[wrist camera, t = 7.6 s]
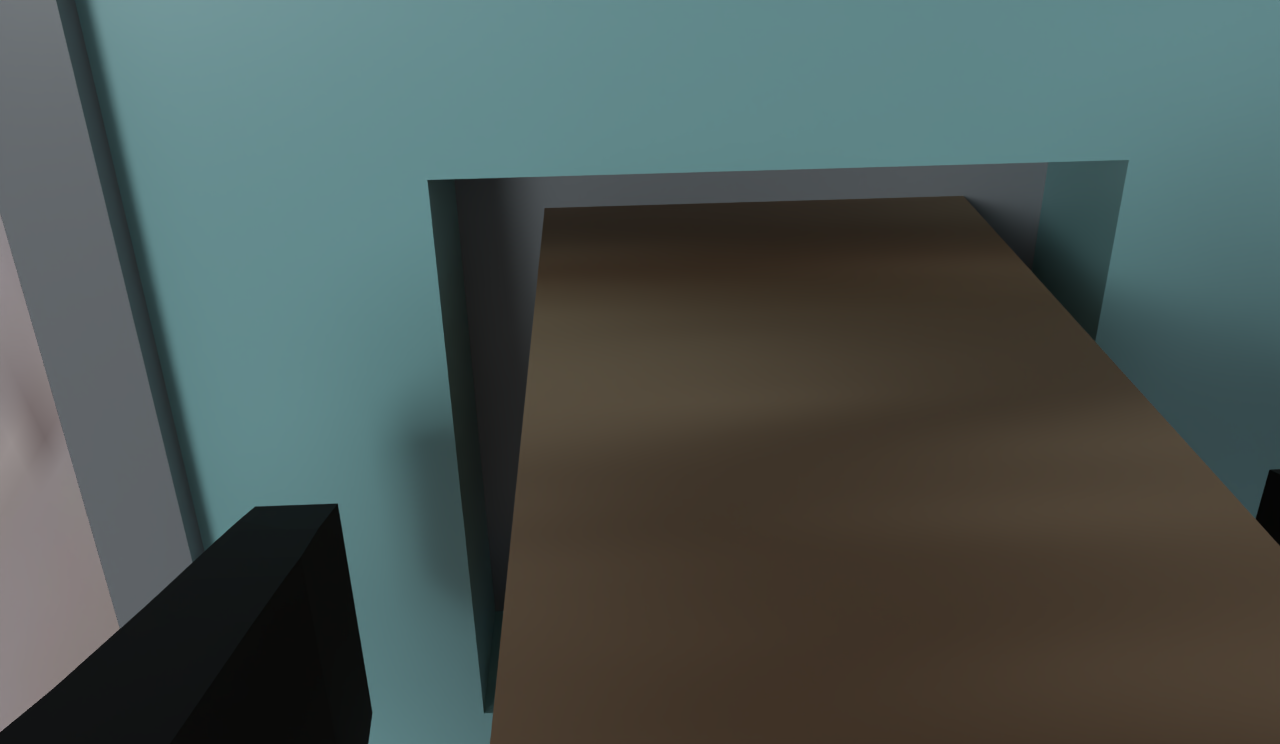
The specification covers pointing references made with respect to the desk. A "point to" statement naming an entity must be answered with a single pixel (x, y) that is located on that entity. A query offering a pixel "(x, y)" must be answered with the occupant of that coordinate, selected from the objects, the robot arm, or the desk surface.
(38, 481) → the desk surface
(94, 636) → the desk surface
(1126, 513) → the peg
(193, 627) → the robot arm
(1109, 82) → the socket box
